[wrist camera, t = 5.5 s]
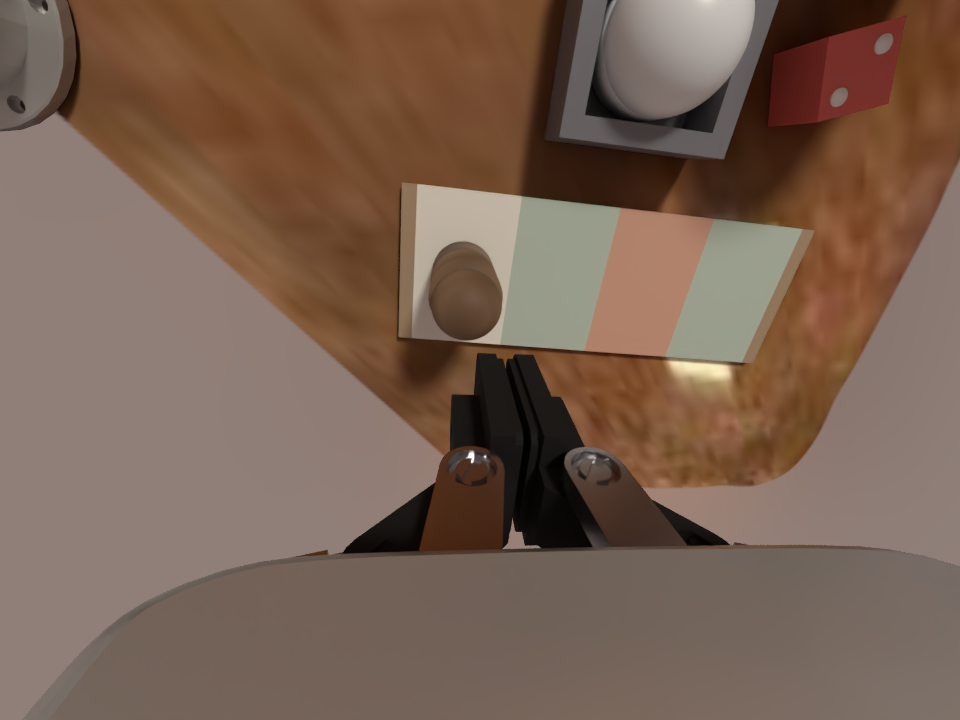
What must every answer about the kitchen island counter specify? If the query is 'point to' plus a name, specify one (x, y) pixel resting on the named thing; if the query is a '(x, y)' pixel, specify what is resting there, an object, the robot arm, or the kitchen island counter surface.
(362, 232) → the kitchen island counter surface
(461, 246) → the walnut pawn
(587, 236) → the game board
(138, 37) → the kitchen island counter surface
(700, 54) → the dome
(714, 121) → the base
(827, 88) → the red die
